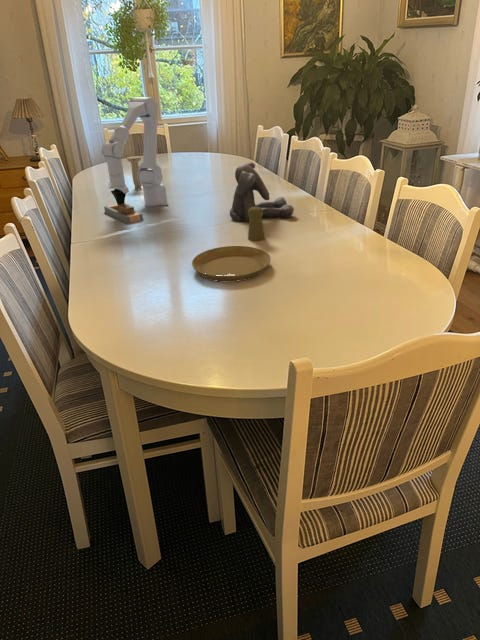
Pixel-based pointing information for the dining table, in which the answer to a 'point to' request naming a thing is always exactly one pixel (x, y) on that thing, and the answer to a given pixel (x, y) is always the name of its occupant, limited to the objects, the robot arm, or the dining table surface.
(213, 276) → the plant saucer
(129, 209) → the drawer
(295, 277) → the dining table surface
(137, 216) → the rail
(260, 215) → the cork
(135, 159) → the handle
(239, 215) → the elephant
